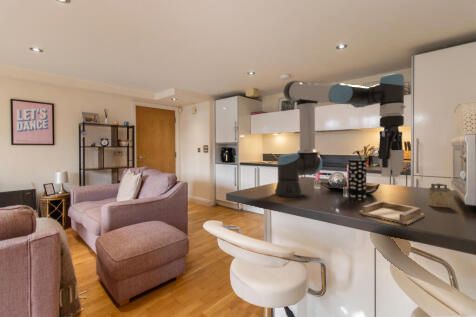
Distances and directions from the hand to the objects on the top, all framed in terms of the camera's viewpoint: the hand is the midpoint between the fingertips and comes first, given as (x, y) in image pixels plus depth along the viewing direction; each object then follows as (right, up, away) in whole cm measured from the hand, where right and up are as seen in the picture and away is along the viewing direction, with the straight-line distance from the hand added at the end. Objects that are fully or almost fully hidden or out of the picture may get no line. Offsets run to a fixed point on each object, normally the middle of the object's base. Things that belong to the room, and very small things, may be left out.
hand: (390, 175), depth 82 cm
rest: (+1, -16, +1) cm, 16 cm away
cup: (0, 0, 0) cm, 0 cm away
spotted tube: (+3, -14, +29) cm, 32 cm away
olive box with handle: (+30, -15, +11) cm, 35 cm away
